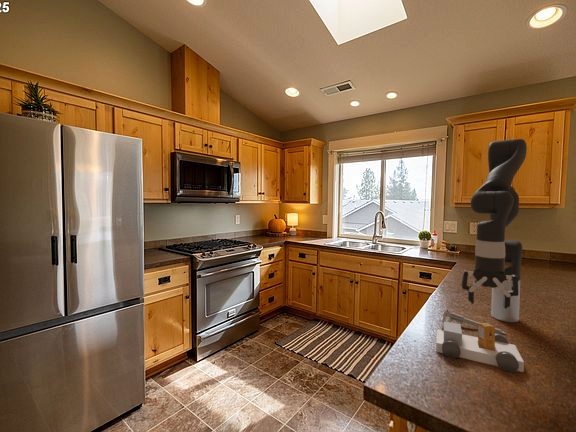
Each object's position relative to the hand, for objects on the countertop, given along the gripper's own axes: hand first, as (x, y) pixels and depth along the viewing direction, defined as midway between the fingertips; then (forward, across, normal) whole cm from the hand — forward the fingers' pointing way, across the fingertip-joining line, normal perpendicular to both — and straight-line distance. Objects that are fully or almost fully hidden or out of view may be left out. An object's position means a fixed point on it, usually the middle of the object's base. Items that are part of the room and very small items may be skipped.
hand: (488, 305), depth 86 cm
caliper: (+17, +2, -21) cm, 27 cm away
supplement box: (+16, 0, 0) cm, 17 cm away
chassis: (+16, +3, 0) cm, 17 cm away
